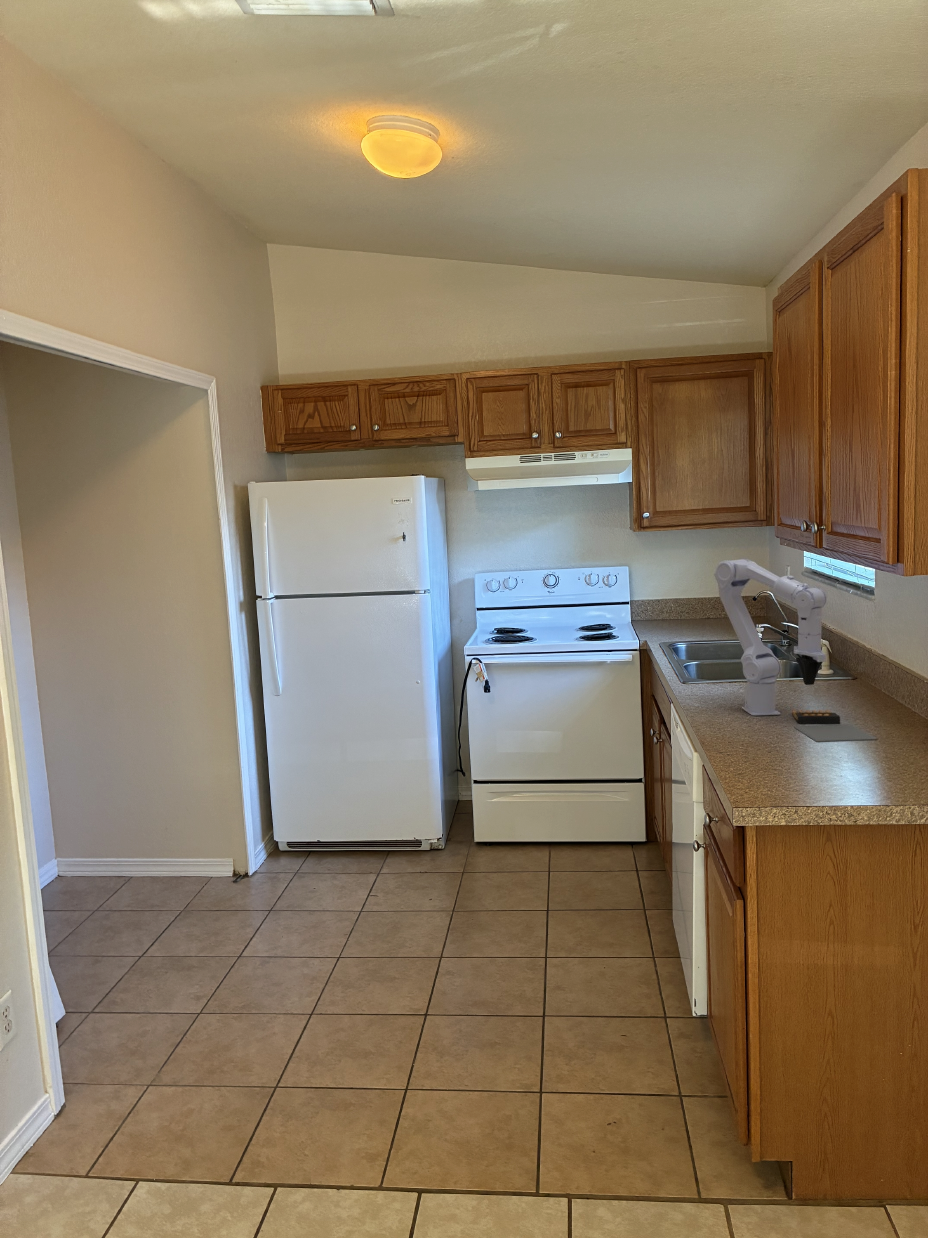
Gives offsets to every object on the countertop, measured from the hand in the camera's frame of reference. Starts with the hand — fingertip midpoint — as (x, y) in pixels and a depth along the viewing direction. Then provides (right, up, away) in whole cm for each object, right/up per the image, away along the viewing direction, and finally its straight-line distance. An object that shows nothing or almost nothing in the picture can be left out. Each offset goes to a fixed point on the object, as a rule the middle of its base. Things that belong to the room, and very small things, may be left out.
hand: (809, 684), depth 247 cm
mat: (+2, -12, -11) cm, 16 cm away
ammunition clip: (+2, -9, -2) cm, 10 cm away
